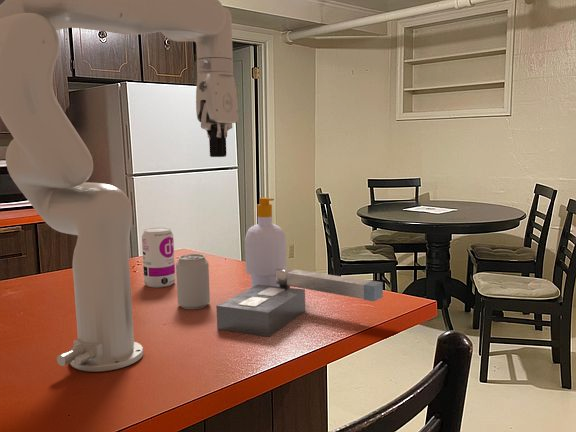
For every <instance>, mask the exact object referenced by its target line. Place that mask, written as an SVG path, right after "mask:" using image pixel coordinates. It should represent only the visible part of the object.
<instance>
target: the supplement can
mask: <svg viewBox="0 0 576 432" xmlns="http://www.w3.org/2000/svg"><path fill="white" fill-rule="evenodd" d="M141 244H142V245H141V246H142V247H141V248H142V263H143V265H142V266H143V283H144V284H145V285H146V287H149V288H155V289H156V288H165V287H169V286H172V285H174V283H175V282H176V263H175V246H174V245H175V243H174V233H173V231H172V230H171V228H170V227H152V228H151V227H149V228H147V229H144V230H143V233H142V235H141Z"/></svg>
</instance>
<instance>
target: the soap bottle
mask: <svg viewBox="0 0 576 432" xmlns="http://www.w3.org/2000/svg"><path fill="white" fill-rule="evenodd" d="M270 201H274V198H269V197H260V198H259V204H258V203H257V206H256V207H257V209H256V210H257V224H253V225H252V226H251V227H249V228H248V230H247V231H246V234H245V238H244V251H245V252H244V254H245V255H244V257H245V258H244V259H245V272H246V274H248V275H250V278H251V279H250V281H251V284H250V285H251V287H250V288H252V287H254V286H256V285H258V284H259V285H268V286H277V287H280V285H279V284H276V269H280V268H287V239H286V235H285V233H284V231H283V229H282V227H280V226H279V225H277V224H275V223H273V204H272V203H270Z"/></svg>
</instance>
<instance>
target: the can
mask: <svg viewBox="0 0 576 432" xmlns="http://www.w3.org/2000/svg"><path fill="white" fill-rule="evenodd" d="M209 265H210V264H209V261H208V260H207V259H206V255H205V254H202V253H190V254H189V253H186V254H183V255H180V256H178V260H177V262H176V263H175V277H176V292H177V294H176V295H177V305H179V306H180V307H181V308H182V309H184V310H198V309H203V308H205V307H207V305H208V304H209V303H210V301H211V298H210V293H211V292H210V272H209V270H210V269H209Z"/></svg>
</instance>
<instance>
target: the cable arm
mask: <svg viewBox="0 0 576 432" xmlns="http://www.w3.org/2000/svg"><path fill="white" fill-rule="evenodd" d="M276 284H279V285H287V286H290V287H291V288H297V289H305V290H310V291H315V292H321V293H327V294H331V295H333V294H334V295H338V296H343V297H350V298H355V299H356V298H357V299H362V300H364V301H369V302H376V301H378V300H380V299H382V298H383V297H384V296H383V294H384V293H383V292H384V290H383V289H384V286H383V285H384V282H383V281H377V280H365V279H360V278H353V277H345V276H342V275H341V276H340V275H333V274H327V273H320V272H314V271H309V270H308V271H307V270H300V269H293V268H289V267H286V268H280V269H276Z"/></svg>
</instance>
